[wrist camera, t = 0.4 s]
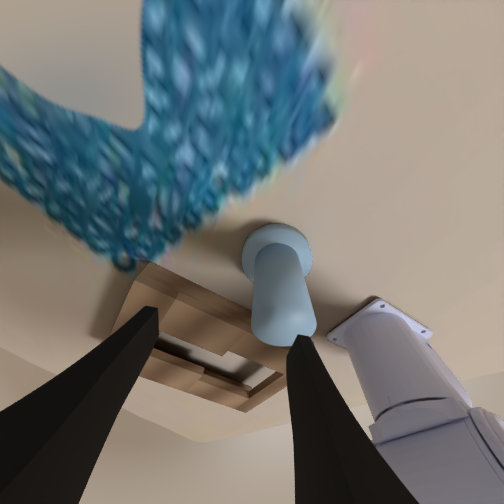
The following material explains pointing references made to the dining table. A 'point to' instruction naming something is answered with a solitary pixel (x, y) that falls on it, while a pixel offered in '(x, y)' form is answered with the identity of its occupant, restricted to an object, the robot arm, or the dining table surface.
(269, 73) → the dining table surface
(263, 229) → the footed peg
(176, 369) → the keyhole bridge
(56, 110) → the dining table surface
